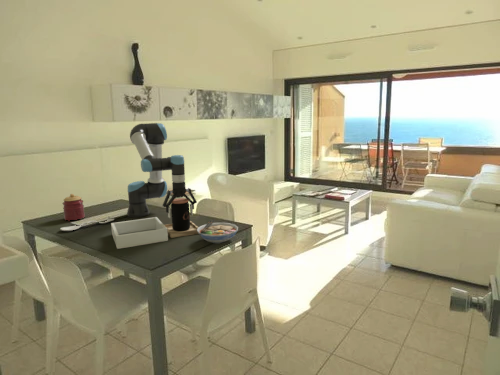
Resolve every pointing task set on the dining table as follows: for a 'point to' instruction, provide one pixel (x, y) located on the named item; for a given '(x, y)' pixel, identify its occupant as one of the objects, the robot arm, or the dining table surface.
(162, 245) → the dining table surface
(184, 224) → the coffee jar
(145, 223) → the crate
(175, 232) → the tray
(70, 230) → the spoon
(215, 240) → the ramen bowl
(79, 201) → the canister
